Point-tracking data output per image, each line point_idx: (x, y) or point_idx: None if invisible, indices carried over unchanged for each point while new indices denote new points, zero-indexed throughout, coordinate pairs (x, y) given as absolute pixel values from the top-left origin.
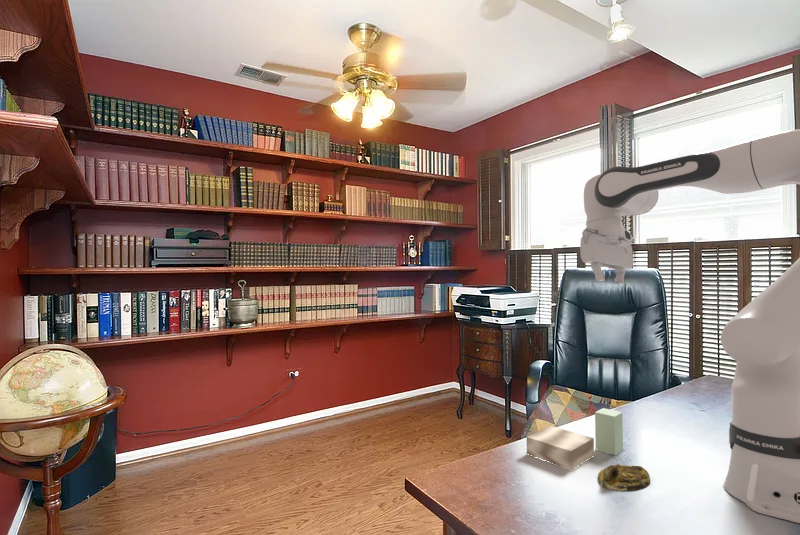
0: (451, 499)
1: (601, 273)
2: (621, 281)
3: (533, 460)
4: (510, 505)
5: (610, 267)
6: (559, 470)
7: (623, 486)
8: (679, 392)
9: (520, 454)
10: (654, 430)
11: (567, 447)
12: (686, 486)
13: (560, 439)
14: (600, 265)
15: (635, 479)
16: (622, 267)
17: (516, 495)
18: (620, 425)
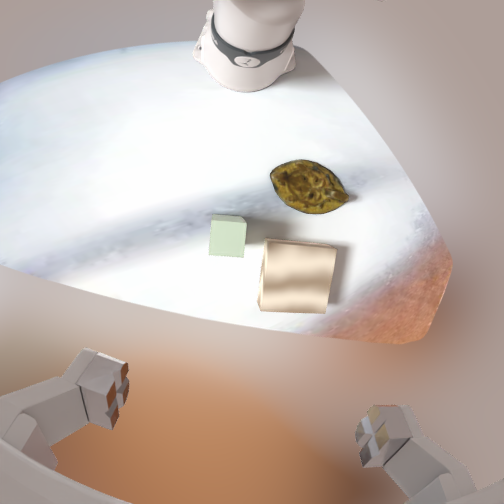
0: (433, 298)
1: (422, 434)
2: (114, 365)
3: None
4: (421, 258)
5: None
6: None
7: (338, 181)
8: None
9: None
10: (95, 203)
11: (328, 257)
12: (278, 125)
13: (306, 276)
14: (453, 478)
15: (320, 171)
16: (15, 449)
17: (405, 263)
18: (220, 218)
